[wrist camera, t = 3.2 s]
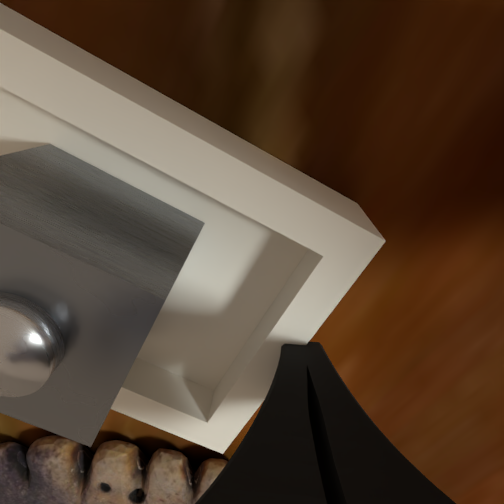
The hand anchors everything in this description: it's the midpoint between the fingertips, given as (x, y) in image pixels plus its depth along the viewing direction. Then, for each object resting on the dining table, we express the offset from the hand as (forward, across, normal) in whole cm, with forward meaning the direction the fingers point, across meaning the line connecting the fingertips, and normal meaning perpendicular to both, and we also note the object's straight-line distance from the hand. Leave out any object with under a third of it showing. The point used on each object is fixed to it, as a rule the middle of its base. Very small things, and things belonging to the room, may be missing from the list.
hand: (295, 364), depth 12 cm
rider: (+1, +6, -3) cm, 7 cm away
